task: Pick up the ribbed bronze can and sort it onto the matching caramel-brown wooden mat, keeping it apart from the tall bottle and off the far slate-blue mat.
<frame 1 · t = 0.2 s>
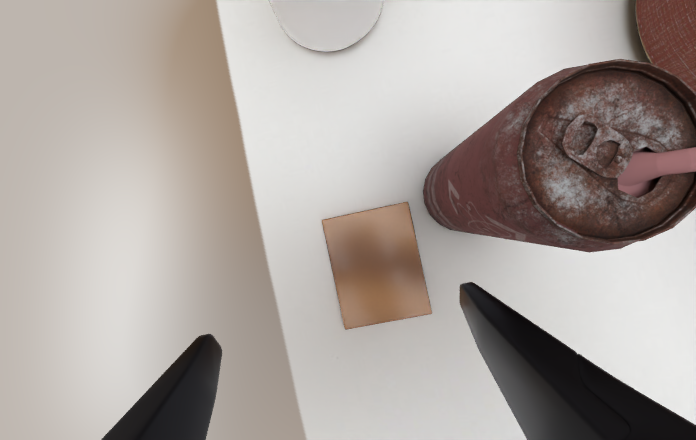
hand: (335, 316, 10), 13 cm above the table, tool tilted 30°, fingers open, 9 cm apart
caramel mat: (375, 265, 23), on the table
can: (462, 192, 22), on the table
alcohol: (330, 5, 23), on the table
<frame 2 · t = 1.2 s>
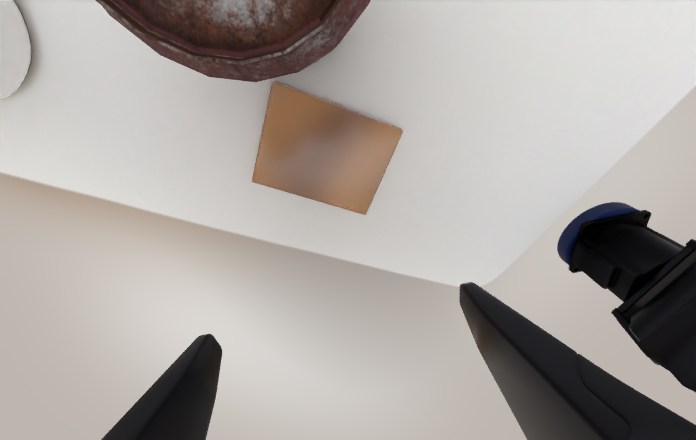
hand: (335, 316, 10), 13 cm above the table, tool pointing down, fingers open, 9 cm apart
caramel mat: (325, 154, 20), on the table
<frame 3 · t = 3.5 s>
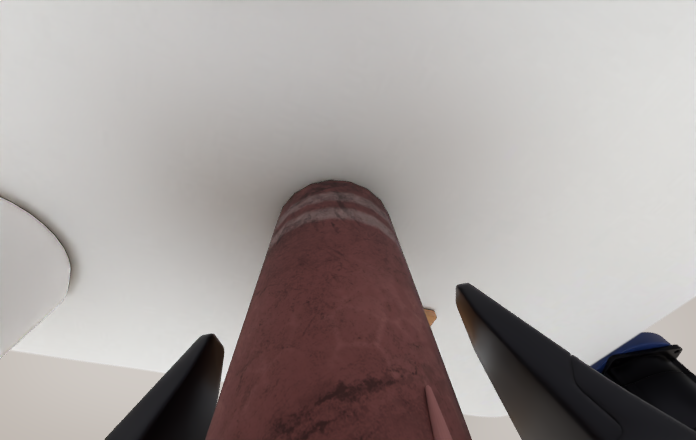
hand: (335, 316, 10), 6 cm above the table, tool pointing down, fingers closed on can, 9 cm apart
can: (335, 223, 16), on the table, touching gripper
when the fingers open (7 cm above the table, at t = 8.4 s): can stays where it is, resting on caramel mat.
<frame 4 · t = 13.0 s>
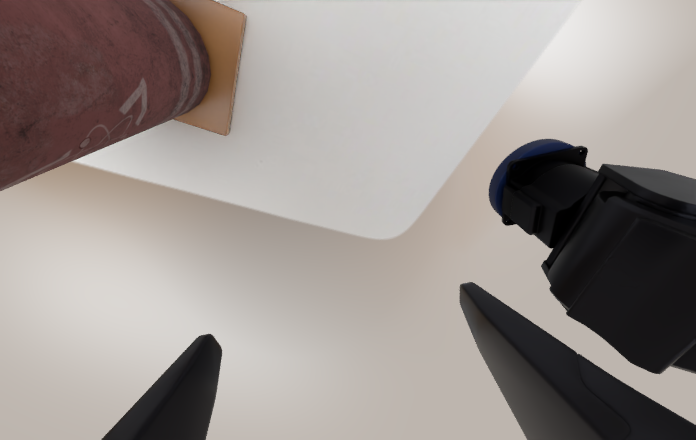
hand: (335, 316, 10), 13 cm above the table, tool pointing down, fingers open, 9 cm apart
caramel mat: (157, 51, 16), on the table
can: (160, 55, 16), resting on caramel mat
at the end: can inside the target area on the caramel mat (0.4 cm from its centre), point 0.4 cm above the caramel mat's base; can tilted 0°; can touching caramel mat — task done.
